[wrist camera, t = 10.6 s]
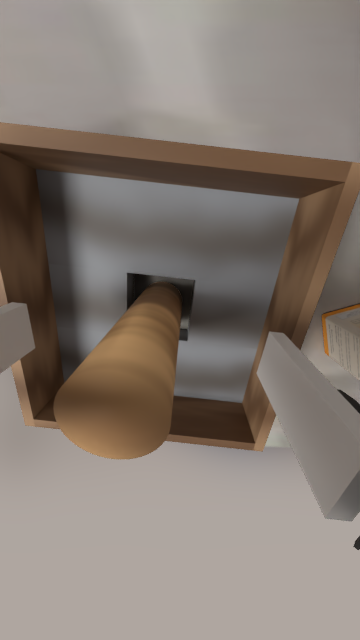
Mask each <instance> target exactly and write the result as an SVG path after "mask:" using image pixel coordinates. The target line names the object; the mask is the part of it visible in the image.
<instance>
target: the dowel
mask: <svg viewBox="0 0 360 640" xmlns="http://www.w3.org/2000/svg"><path fill="white" fill-rule="evenodd" d="M181 313H182V296H181V294H180V292H179V290H178V289H177V288H176V287H175V286H174V285H172V284H170V283H167V282H155V283H152V284H151V285H149V286H148V287H147V288H146V289H145V290H144V291H143V292H142V294H141V295H140V296H139V297H138V298H137V299H136V301H135V302H134V303H133V304H132V305H131V306H130V308H129V309H128V310H127V311H126V312H125V313H124V314H123V316H122V317H121V318H120V319H119V320H118V321H117V323H116V324H115V325H114V326H113V327H112V328H111V330H110V331H109V332H108V333H107V334H106V335H105V337H104V338H103V339H102V340H101V341H100V342H99V343H98V345H97V346H96V347H95V348H94V349H93V350H92V352H91V353H90V354H89V355H88V356H87V357H86V359H85V360H84V361H83V362H82V363H81V364H80V365H79V367H78V368H77V369H76V370H75V371H74V372H73V374H72V375H71V376H70V377H69V378H68V379H67V381H66V382H65V383H64V384H63V385H62V386H61V388H60V389H59V390H58V392H57V394H56V396H55V400H54V406H53V409H54V416H55V419H56V422H57V424H58V426H59V428H60V429H61V431H62V432H63V433H64V435H65V436H66V437H67V438H69V440H70V441H72V442H73V443H74V444H75V445H77V446H78V447H80V448H82V449H84V450H85V451H87V452H90V453H92V454H94V455H97V456H101V457H105V458H111V459H133V458H138V457H142V456H144V455H147V454H149V453H151V452H153V451H154V450H156V449H157V448H158V447H159V446H161V445H162V444H163V442H164V441H165V440H166V438H167V436H168V434H169V431H170V427H171V417H172V406H173V396H174V386H175V375H176V365H177V354H178V344H179V333H180V323H181Z"/></svg>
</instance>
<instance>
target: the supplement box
mask: <svg viewBox="0 0 360 640" xmlns="http://www.w3.org/2000/svg"><path fill="white" fill-rule="evenodd" d="M322 324H323V326H322V327H323V337H324V349H325V353H326V354H327V355H328V356H329V357H331V358H332V359H333V360H334V361H336V362H337V363H338V364H339V365H341V366H342V367H343V368H344V369H346V370H347V371H348V372H349V373H350V374H352V375H353V376H354V377H355V378H357V379H358V380H359V381H360V304H358V305H355V306H351V307H347V308H344V309H340V310H337V311H333V312H329V313H326V314H323V315H322Z"/></svg>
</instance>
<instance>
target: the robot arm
mask: <svg viewBox="0 0 360 640" xmlns="http://www.w3.org/2000/svg"><path fill="white" fill-rule="evenodd" d="M33 349H35V344H34V339H33V334H32V329H31V324H30V319H29V314H28V309H27V304H24V303H15V302H11V303H9V304H6V305H4V306H1V307H0V373H2V372H3V371H4V370H6V369H7V368H8V367H10V366H11V365H13V364H14V363H15V362H17V361H18V360H20V359H21V358H22V357H24V356H25V355H26V354H28V353H29V352H31V351H32V350H33ZM257 375H258V378H259V380H260V382H261V384H262V386H263V388H264V390H265V392H266V394H267V397H268V399H269V401H270V403H271V405H272V407H273V409H274V411H275V413H276V416H277V418H278V420H279V422H280V424H281V426H282V428H283V430H284V433H285V435H286V437H287V439H288V441H289V443H290V445H291V447H292V449H293V452H294V454H295V456H296V458H297V460H298V462H299V464H300V466H301V468H302V470H303V473H304V475H305V477H306V479H307V481H308V483H309V485H310V487H311V490H312V492H313V494H314V496H315V498H316V500H317V502H318V504H319V506H320V508H321V511H322V513H323V515H324V517H325V518H327V519H336V520H344V521H352V520H353V519H354V518H355V517H356V515H357V514H358V513H359V512H360V404H359V403H358V402H357V401H356V400H354V399H353V398H351V397H350V396H349V395H347V394H346V393H344V392H343V391H341V390H337V389H336V388H335V387H334V386H333V385H332V384H331V383H330V382H329V381H328V380H327V379H326V378H325V377H324V375H323V374H322V373H321V372H320V371H319V370H318V369H317V368H316V367H315V366H314V365H313V364H312V363H311V362H310V361H309V360H308V358H307V357H306V356H305V355H304V354H303V353H302V352H301V351H300V350H299V349H298V348H297V347H296V346H295V345H294V344H293V343H292V341H291V340H290V339H289V338H288V337H287V336H286V335H285V334H284V333H278V332H270V331H269V334H268V338H267V341H266V344H265V347H264V351H263V354H262V357H261V360H260V364H259V367H258V370H257ZM354 547H355V548H356V549H357V550H359V549H360V536H359V537H358V538H357V540H356V541H355V544H354Z"/></svg>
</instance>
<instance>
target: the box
mask: <svg viewBox="0 0 360 640" xmlns="http://www.w3.org/2000/svg"><path fill="white" fill-rule="evenodd" d="M359 190H360V163H355V162H346V161H337V160H329V159H320V158H311V157H302V156H293V155H284V154H275V153H267V152H258V151H249V150H240V149H231V148H222V147H214V146H205V145H196V144H187V143H178V142H169V141H161V140H152V139H143V138H134V137H125V136H116V135H107V134H99V133H90V132H81V131H72V130H63V129H54V128H46V127H37V126H28V125H19V124H10V123H1V122H0V307H1V306H4V305H6V304H9V303H11V302H15V303H24V304H27V309H28V314H29V319H30V324H31V329H32V334H33V339H34V344H35V349H33V350H32V351H31V352H29V353H28V354H26V355H25V356H24V357H22V358H21V359H20V360H18V361H17V362H15V363H14V364H13V365H11V368H12V372H13V376H14V380H15V384H16V389H17V393H18V397H19V401H20V405H21V409H22V413H23V417H24V422H25V425H26V426H35V427H44V428H53V429H60V428H59V426H58V424H57V422H56V419H55V416H54V409H53V406H54V400H55V396H56V394H57V392H58V390H59V389H60V388H61V386H62V385H63V384H64V383H65V382H66V381H67V379H68V378H69V377H70V376H71V375H72V374H73V372H74V371H75V370H76V369H77V368H78V367H79V365H80V364H81V363H82V362H83V361H84V360H85V359H86V357H87V356H88V355H89V354H90V353H91V352H92V350H93V349H94V348H95V347H96V346H97V345H98V343H99V342H100V341H101V340H102V339H103V338H104V337H105V335H106V334H107V333H108V332H109V331H110V330H111V328H112V327H113V326H114V325H115V324H116V323H117V321H118V320H119V319H120V318H121V317H122V316H123V314H124V313H125V312H126V311H127V310H128V309H129V308H130V306H131V305H132V304H133V303H134V274H135V273H136V274H145V275H154V276H163V277H172V278H181V279H190V280H194V285H193V293H192V301H191V308H190V316H189V324H188V330H184V329H180V333H179V344H178V354H177V365H176V375H175V386H174V396H173V406H172V417H171V427H170V431H169V434H168V436H167V438H166V440H165V441H172V442H181V443H190V444H200V445H208V446H218V447H227V448H236V449H245V450H254V451H263V449H264V446H265V443H266V441H267V438H268V435H269V433H270V430H271V427H272V425H273V422H274V419H275V417H276V413H275V411H274V409H273V407H272V405H271V403H270V401H269V399H268V397H267V394H266V392H265V390H264V388H263V386H262V384H261V382H260V380H259V378H258V375H257V370H258V367H259V364H260V360H261V357H262V354H263V351H264V347H265V344H266V341H267V338H268V334H269V331H270V332H278V333H284V334H285V335H286V336H287V337H288V338H289V339H290V340H291V341H292V343H293V344H294V345H295V346H296V347H297V348H298V349H299V350H300V349H301V346H302V344H303V341H304V338H305V336H306V333H307V330H308V328H309V325H310V322H311V319H312V317H313V314H314V311H315V309H316V306H317V303H318V301H319V298H320V295H321V292H322V290H323V287H324V284H325V282H326V279H327V276H328V274H329V271H330V268H331V266H332V263H333V260H334V257H335V255H336V252H337V249H338V247H339V244H340V241H341V239H342V236H343V233H344V230H345V228H346V225H347V222H348V220H349V217H350V214H351V212H352V209H353V206H354V203H355V201H356V198H357V195H358V193H359Z"/></svg>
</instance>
